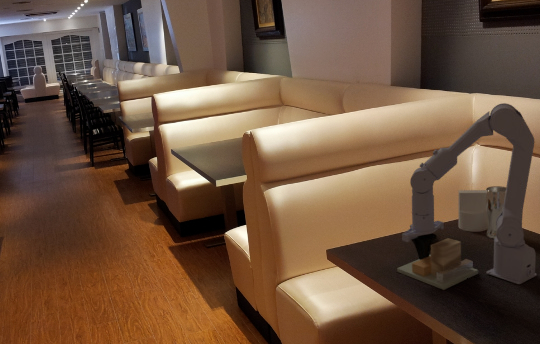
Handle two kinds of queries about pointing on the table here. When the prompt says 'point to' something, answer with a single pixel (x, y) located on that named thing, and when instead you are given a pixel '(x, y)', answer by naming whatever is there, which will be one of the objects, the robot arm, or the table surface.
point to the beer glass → (494, 207)
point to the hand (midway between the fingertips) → (423, 259)
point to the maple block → (445, 254)
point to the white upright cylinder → (472, 210)
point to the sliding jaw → (422, 266)
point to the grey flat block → (443, 274)
